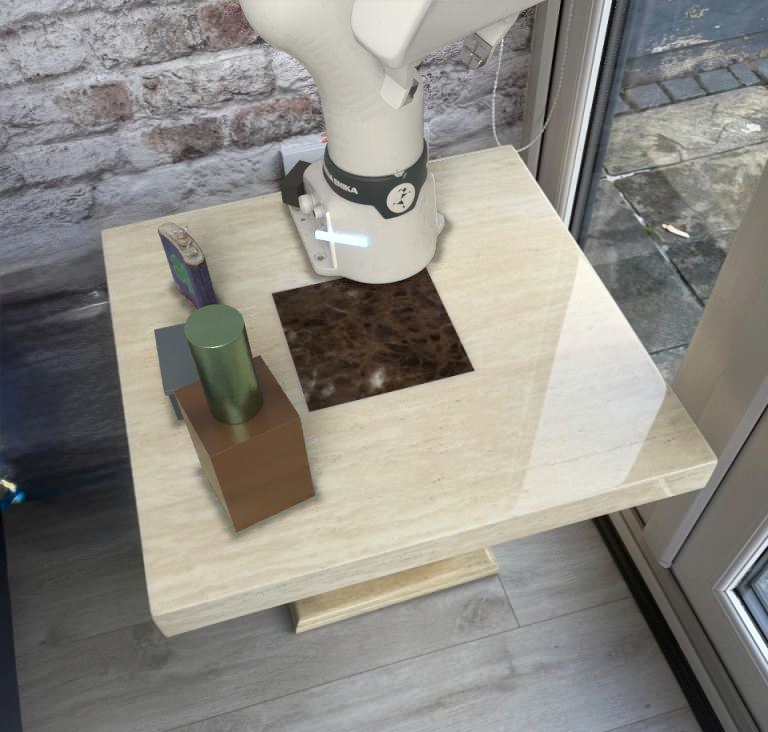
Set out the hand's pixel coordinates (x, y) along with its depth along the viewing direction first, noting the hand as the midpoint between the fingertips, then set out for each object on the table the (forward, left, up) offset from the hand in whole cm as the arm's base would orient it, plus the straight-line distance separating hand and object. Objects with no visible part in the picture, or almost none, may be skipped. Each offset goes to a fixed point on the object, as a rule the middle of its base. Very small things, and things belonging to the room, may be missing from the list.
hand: (434, 81), depth 58 cm
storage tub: (-19, -19, -40) cm, 48 cm away
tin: (-3, -19, -27) cm, 33 cm away
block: (-3, -19, -40) cm, 44 cm away
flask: (-32, -14, -40) cm, 53 cm away
